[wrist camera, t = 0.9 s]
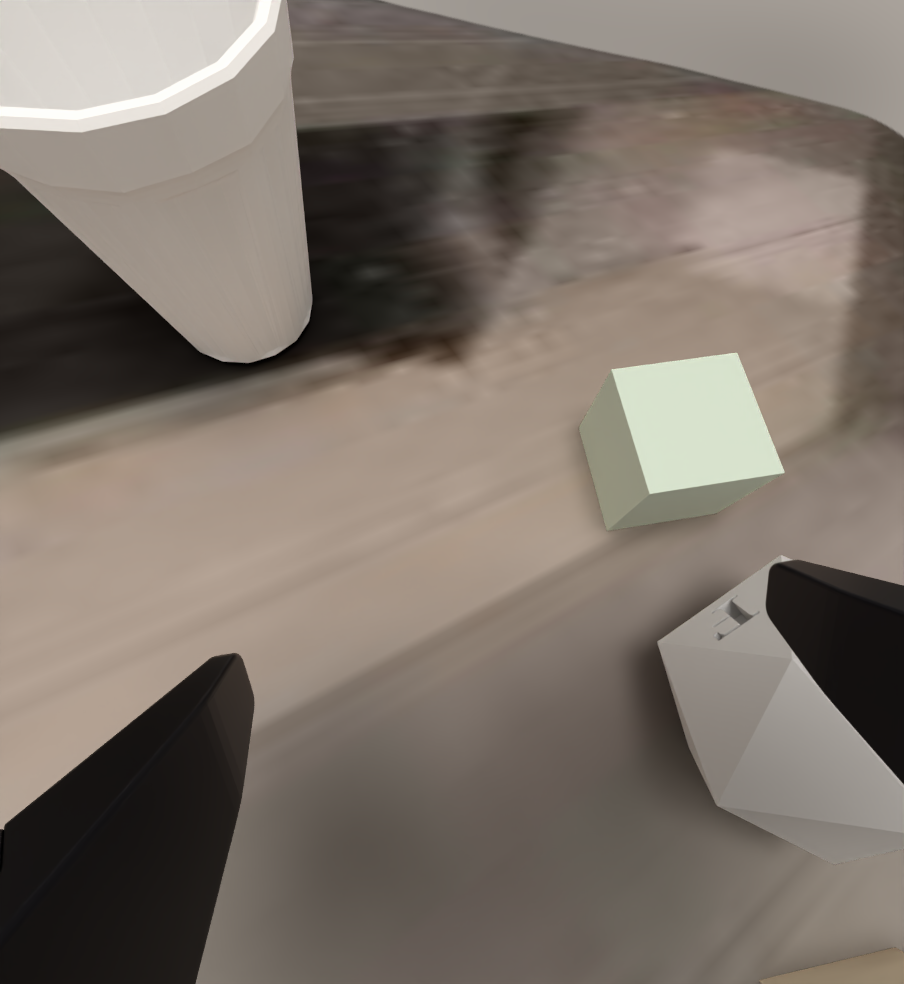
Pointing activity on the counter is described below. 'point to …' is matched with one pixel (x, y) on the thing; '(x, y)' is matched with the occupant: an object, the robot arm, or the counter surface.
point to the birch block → (850, 971)
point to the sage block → (676, 441)
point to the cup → (168, 155)
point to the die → (777, 734)
